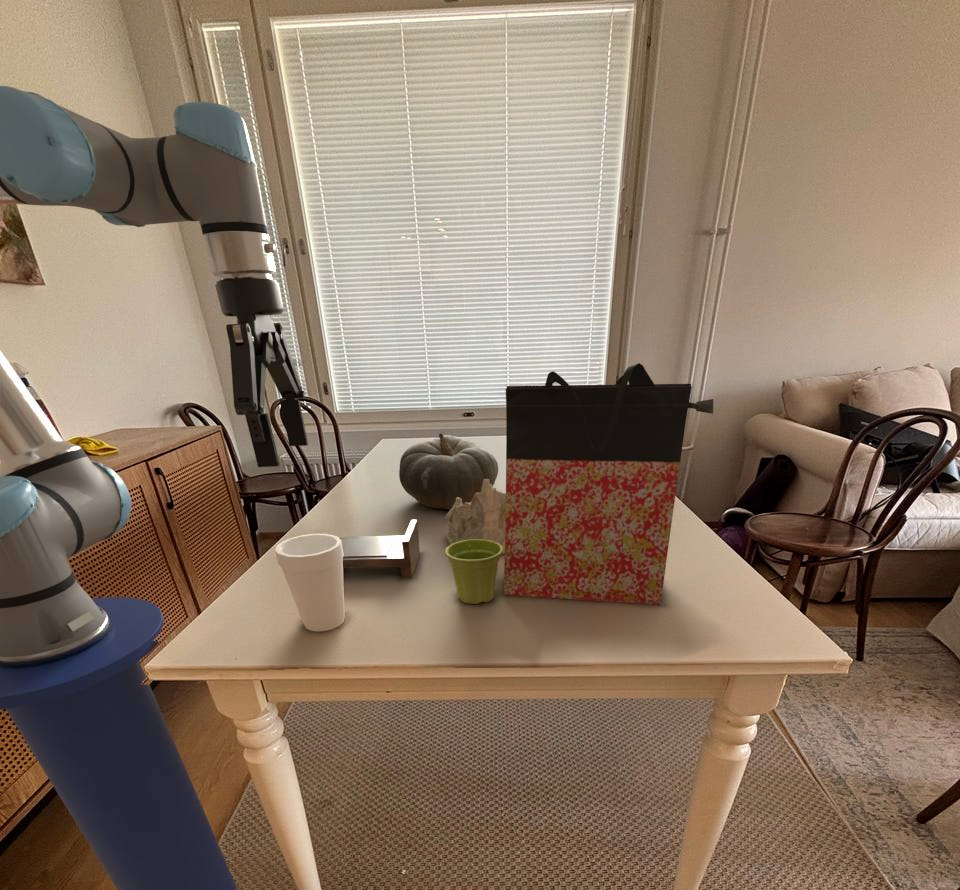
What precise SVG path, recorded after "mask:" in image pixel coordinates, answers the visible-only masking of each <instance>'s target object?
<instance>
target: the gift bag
mask: <svg viewBox="0 0 960 890" xmlns="http://www.w3.org/2000/svg"><path fill="white" fill-rule="evenodd" d="M650 376H651V375H649V373H648V372H647V370H646V368H645V367H644V365H643V364H641V363H640V362H638V363H635V364H633V365H630V366H628V367H627V368H626V370H625V371H624V372H623V374H622V376H620V377H619V378H618V380H617V381H616V383H615V384H569V383H568V382H567V381H566V380H565V379H564V378H563V377H562V376H561V375H560V374H558V373H557V372H555V371H550V372H548V374H547V376H546V380H545V383H544V385H506V387H505V415H506V416H505V418H506V419H505V420H506V422H505V423H506V424H505V426H506V428H505V429H506V433H505V436H506V437H505V439H506V440H505V494H506V517H505V554H504V567H503V568H504V569H503V571H504V573H503V596H514V597H515V596H516V597H527V598H528V597H531V598H544V599H545V598H546V599H558V600H559V599H561V600H574V601H575V600H576V601H577V600H578V601H592V602H593V601H594V602H607V603H623V604H640V605H654V606H655V605H656V606H661V605H662V598H663V591H664V585H665V584H664V583H665V575H666V569H667V568H666V566H667V560H668V552H669V545H670V544H669V543H670V537H671V529H672V523H673V515H674V508H675V502H676V494H677V487H678V480H679V473H680V466H681V460H682V459H681V458H682V451H683V444H684V437H685V430H686V423H687V418H688V412H689V409H693V410H695V411H696V412H700V413H706V414H713V415H714V398H712V399H711V398H709V399H705V400H699V401H696V402H690V400H691V395H692V388H693V386H692V383H655V382H654V381H653V380H652V378H651V377H650ZM555 383H556V384H555ZM557 384H558V385H557Z"/></svg>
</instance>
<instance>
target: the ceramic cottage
mask: <svg viewBox="0 0 960 890" xmlns="http://www.w3.org/2000/svg"><path fill="white" fill-rule="evenodd" d="M505 517H506V492H501V491H499V490H497V487H494V486H493V487H492V484H490V481H489V479H484V480H483V484H482V488H481V492H479V493H475V495H474V497H473V500H472V502H470V503H467V502H465V503H464V505H463V503H462V499H461V498H459V497H457V498H456V502H455V503H454V505H453V506H452V508H451V509H448V512H447V513H446V515H445V520H447V525H448V533H447V537H446V540H447V542H448V544H449V545H451V544H453V543H456V542H459V541H464V540H471V539H483V540H490V541H494V542H496V543H499V544H500V545H501V546H502V548H503V551H502V553H501V555H505Z"/></svg>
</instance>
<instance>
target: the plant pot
mask: <svg viewBox="0 0 960 890" xmlns="http://www.w3.org/2000/svg"><path fill="white" fill-rule="evenodd" d="M502 551H503V548H502V546H501V545H500V544H499V543H496V542H494V541H490V540H483V539H471V540H464V541H459V542H456V543H453V544H449V545H448V546H447V547H446V548H445V551H444V552H445V556H446V557H447V558H448V561H449V564H450V565H451V568H452V573H453V578H454V582H455V587H456V592H457V593H456V594H457V597H458V598H459V600H460V602H463V603H465V604H471V605H478V604H480V603H488V602H490V601H492V600H493V599H494V597H495V591H496V581H497V574H498V573H497V572H498V565H499V561H500V556H501V555H502V554H501V553H502Z"/></svg>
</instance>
